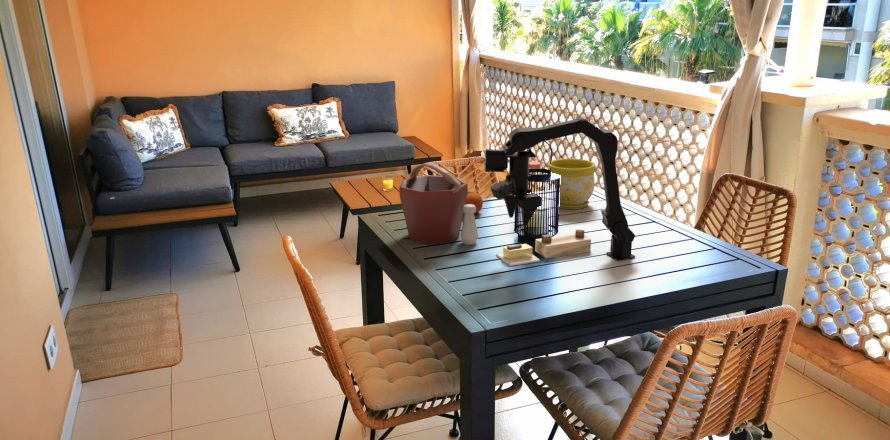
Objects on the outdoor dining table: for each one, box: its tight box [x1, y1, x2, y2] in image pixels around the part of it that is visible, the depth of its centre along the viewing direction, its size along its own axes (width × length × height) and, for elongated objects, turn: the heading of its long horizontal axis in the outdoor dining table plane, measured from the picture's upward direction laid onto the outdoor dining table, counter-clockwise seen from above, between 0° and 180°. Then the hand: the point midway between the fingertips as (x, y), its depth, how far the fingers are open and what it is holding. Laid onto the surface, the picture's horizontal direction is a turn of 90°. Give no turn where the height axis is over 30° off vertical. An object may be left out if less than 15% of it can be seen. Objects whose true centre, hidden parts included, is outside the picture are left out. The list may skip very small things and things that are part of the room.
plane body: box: [534, 228, 592, 259], centre depth 219 cm, size 7×16×6 cm, turn 111°
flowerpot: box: [547, 158, 597, 210], centre depth 267 cm, size 18×18×16 cm
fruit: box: [465, 190, 484, 215], centre depth 260 cm, size 11×10×8 cm
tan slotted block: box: [502, 243, 533, 260], centre depth 214 cm, size 4×8×4 cm, turn 111°
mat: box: [495, 252, 541, 267], centre depth 215 cm, size 10×10×1 cm
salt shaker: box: [460, 204, 479, 246], centre depth 227 cm, size 6×6×13 cm
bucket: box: [398, 162, 469, 246], centre depth 232 cm, size 24×22×25 cm
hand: (517, 221), depth 211 cm, fingers open, 9 cm apart
